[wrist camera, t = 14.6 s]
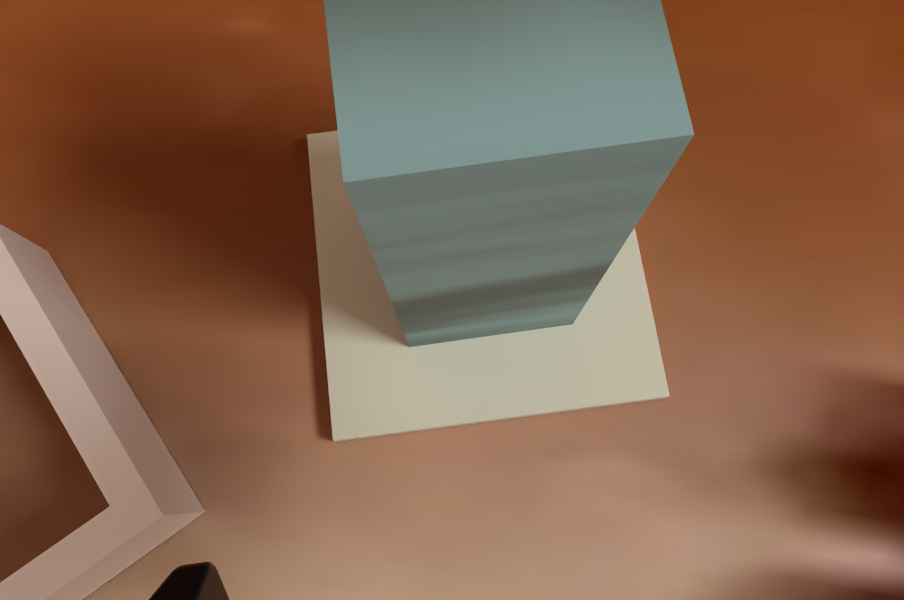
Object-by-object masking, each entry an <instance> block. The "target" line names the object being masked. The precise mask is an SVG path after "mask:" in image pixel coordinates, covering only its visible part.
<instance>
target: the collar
mask: <svg viewBox="0 0 904 600" xmlns="http://www.w3.org/2000/svg"><path fill="white" fill-rule="evenodd" d="M0 315H1V316H2V318H3V320H4V322H5V323H6V325H7V327H8V329H9V330H10V332H11V334H12V336H13V337H14V339H15V341H16V343H17V344H18V346H19V348H20V350H21V351H22V353H23V355H24V357H25V358H26V360H27V362H28V364H29V365H30V367H31V369H32V371H33V372H34V374H35V376H36V378H37V379H38V381H39V383H40V385H41V386H42V388H43V390H44V392H45V393H46V395H47V397H48V399H49V400H50V402H51V404H52V406H53V407H54V409H55V411H56V413H57V414H58V416H59V418H60V420H61V421H62V423H63V425H64V427H65V428H66V430H67V432H68V434H69V435H70V437H71V439H72V441H73V443H74V444H75V446H76V448H77V450H78V451H79V453H80V455H81V457H82V458H83V460H84V462H85V464H86V465H87V467H88V469H89V471H90V472H91V474H92V476H93V478H94V479H95V481H96V483H97V485H98V486H99V488H100V490H101V492H102V493H103V495H104V497H105V499H106V500H107V502H108V504H109V507H108V508H107V509H105V510H104V511H102V512H101V513H99V514H98V515H96V516H95V517H94V518H92V519H91V520H89V521H88V522H86V523H85V524H84V525H82V526H81V527H79V528H78V529H76V530H75V531H73V532H72V533H71V534H69V535H68V536H66V537H65V538H63V539H62V540H61V541H59V542H58V543H56V544H55V545H53V546H52V547H51V548H49V549H48V550H46V551H45V552H43V553H42V554H40V555H39V556H38V557H36V558H35V559H33V560H32V561H30V562H29V563H28V564H26V565H25V566H23V567H22V568H20V569H19V570H18V571H16V572H15V573H13V574H12V575H10V576H9V577H7V578H6V579H5V580H3V581H2V582H0V600H82V599H84V598H85V597H87V596H88V595H89V594H91V593H92V592H94V591H95V590H96V589H98V588H99V587H101V586H102V585H103V584H105V583H106V582H108V581H109V580H110V579H112V578H113V577H115V576H116V575H117V574H119V573H120V572H122V571H123V570H124V569H126V568H127V567H129V566H130V565H131V564H133V563H134V562H136V561H137V560H138V559H140V558H141V557H143V556H144V555H145V554H147V553H148V552H150V551H151V550H152V549H154V548H155V547H157V546H158V545H159V544H161V543H162V542H164V541H165V540H167V539H168V538H169V537H171V536H172V535H174V534H175V533H176V532H178V531H179V530H181V529H182V528H183V527H185V526H186V525H188V524H189V523H190V522H192V521H193V520H195V519H196V518H197V517H199V516H200V515H202V514H203V513H204V512H205V511H204V509H203V507H202V506H201V504H200V502H199V501H198V499H197V497H196V496H195V494H194V492H193V491H192V489H191V487H190V486H189V484H188V482H187V481H186V479H185V478H184V476H183V474H182V473H181V471H180V469H179V468H178V466H177V464H176V463H175V461H174V459H173V458H172V456H171V454H170V453H169V451H168V449H167V448H166V446H165V444H164V443H163V441H162V439H161V438H160V436H159V434H158V433H157V431H156V429H155V428H154V426H153V425H152V423H151V421H150V420H149V418H148V416H147V415H146V413H145V411H144V410H143V408H142V406H141V405H140V403H139V401H138V400H137V398H136V396H135V395H134V393H133V391H132V390H131V388H130V386H129V385H128V383H127V381H126V380H125V378H124V376H123V375H122V373H121V372H120V370H119V368H118V367H117V365H116V363H115V362H114V360H113V358H112V357H111V355H110V353H109V352H108V350H107V348H106V347H105V345H104V343H103V342H102V340H101V338H100V337H99V335H98V333H97V332H96V330H95V328H94V327H93V325H92V323H91V322H90V320H89V319H88V317H87V315H86V314H85V312H84V310H83V309H82V307H81V305H80V304H79V302H78V300H77V299H76V297H75V295H74V294H73V292H72V290H71V289H70V287H69V285H68V284H67V282H66V280H65V279H64V277H63V275H62V274H61V272H60V270H59V269H58V267H57V265H56V264H55V262H54V261H53V259H52V257H51V256H50V254H49V252H48V251H47V250H45V249H43V248H41V247H40V246H38V245H36V244H34V243H33V242H31V241H29V240H27V239H26V238H24V237H22V236H20V235H18V234H17V233H15V232H13V231H11V230H10V229H8V228H6V227H4V226H3V225H1V224H0Z"/></svg>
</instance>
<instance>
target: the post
mask: <svg viewBox="0 0 904 600" xmlns="http://www.w3.org/2000/svg"><path fill="white" fill-rule="evenodd" d="M324 8H325V17H326V27H327V36H328V45H329V54H330V64H331V73H332V82H333V91H334V100H335V110H336V119H337V128H338V137H339V147H340V156H341V165H342V174H343V183H344V185H345V188H346V190H347V193H348V195H349V198H350V200H351V203H352V205H353V208H354V210H355V213H356V215H357V218H358V220H359V223H360V225H361V228H362V230H363V233H364V235H365V238H366V240H367V243H368V245H369V248H370V250H371V253H372V255H373V258H374V260H375V263H376V265H377V268H378V270H379V273H380V275H381V278H382V280H383V283H384V285H385V288H386V290H387V293H388V295H389V298H390V300H391V303H392V305H393V308H394V310H395V313H396V315H397V318H398V320H399V323H400V325H401V328H402V330H403V332H404V335H405V337H406V340H407V342H408V345H409V347H415V346H422V345H429V344H436V343H443V342H450V341H457V340H464V339H471V338H478V337H486V336H493V335H500V334H507V333H514V332H521V331H528V330H535V329H542V328H549V327H557V326H564V325H571V324H573V323H574V321H575V320H576V318H577V317H578V315H579V313H580V312H581V310H582V309H583V307H584V306H585V304H586V303H587V301H588V299H589V298H590V296H591V295H592V293H593V292H594V290H595V289H596V287H597V285H598V284H599V282H600V281H601V279H602V278H603V276H604V274H605V273H606V271H607V270H608V268H609V267H610V265H611V264H612V262H613V260H614V259H615V257H616V256H617V254H618V253H619V251H620V250H621V248H622V246H623V245H624V243H625V242H626V240H627V239H628V237H629V235H630V234H631V232H632V231H633V229H634V228H635V226H636V225H637V223H638V221H639V220H640V218H641V217H642V215H643V214H644V212H645V211H646V209H647V207H648V206H649V204H650V203H651V201H652V200H653V198H654V197H655V195H656V193H657V192H658V190H659V189H660V187H661V186H662V184H663V182H664V181H665V179H666V178H667V176H668V175H669V173H670V172H671V170H672V168H673V167H674V165H675V164H676V162H677V161H678V159H679V158H680V156H681V154H682V153H683V151H684V150H685V148H686V147H687V145H688V143H689V142H690V140H691V139H692V137H693V136H694V131H693V127H692V123H691V119H690V115H689V111H688V107H687V103H686V99H685V96H684V92H683V88H682V84H681V80H680V76H679V72H678V68H677V64H676V60H675V56H674V52H673V48H672V44H671V40H670V36H669V32H668V28H667V24H666V20H665V16H664V12H663V8H662V4H661V0H324Z"/></svg>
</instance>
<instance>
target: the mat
mask: <svg viewBox="0 0 904 600" xmlns="http://www.w3.org/2000/svg"><path fill="white" fill-rule="evenodd" d="M307 141H308V153H309V165H310V177H311V189H312V200H313V212H314V224H315V236H316V248H317V259H318V271H319V283H320V295H321V307H322V318H323V330H324V342H325V354H326V366H327V378H328V389H329V401H330V413H331V425H332V437H333V441H334V442H340V441H348V440H355V439H363V438H371V437H378V436H386V435H393V434H401V433H408V432H416V431H423V430H431V429H438V428H446V427H454V426H461V425H469V424H476V423H484V422H491V421H499V420H506V419H514V418H521V417H529V416H536V415H544V414H552V413H559V412H567V411H574V410H582V409H589V408H597V407H604V406H612V405H619V404H627V403H635V402H642V401H650V400H657V399H665V398H667V397H669V396H670V395H669V391H668V386H667V381H666V376H665V371H664V366H663V362H662V357H661V352H660V347H659V342H658V338H657V333H656V328H655V323H654V318H653V314H652V309H651V304H650V299H649V294H648V290H647V285H646V280H645V275H644V270H643V266H642V261H641V256H640V251H639V246H638V241H637V237H636V232H635V228H634V229H633V231H632V232H631V234H630V235H629V237H628V239H627V240H626V242H625V243H624V245H623V246H622V248H621V250H620V251H619V253H618V254H617V256H616V257H615V259H614V260H613V262H612V264H611V265H610V267H609V268H608V270H607V271H606V273H605V274H604V276H603V278H602V279H601V281H600V282H599V284H598V285H597V287H596V289H595V290H594V292H593V293H592V295H591V296H590V298H589V299H588V301H587V303H586V304H585V306H584V307H583V309H582V310H581V312H580V313H579V315H578V317H577V318H576V320H575V321H574V323H573V324H571V325H564V326H557V327H549V328H542V329H535V330H528V331H521V332H514V333H507V334H500V335H493V336H486V337H478V338H471V339H464V340H457V341H450V342H443V343H436V344H429V345H422V346H415V347H409V345H408V342H407V340H406V337H405V335H404V332H403V330H402V328H401V325H400V323H399V320H398V318H397V315H396V313H395V310H394V308H393V305H392V303H391V300H390V298H389V295H388V293H387V290H386V288H385V285H384V283H383V280H382V278H381V275H380V273H379V270H378V268H377V265H376V263H375V260H374V258H373V255H372V253H371V250H370V248H369V245H368V243H367V240H366V238H365V235H364V233H363V230H362V228H361V225H360V223H359V220H358V218H357V215H356V213H355V210H354V208H353V205H352V203H351V200H350V198H349V195H348V193H347V190H346V188H345V185H344V183H343V174H342V165H341V156H340V147H339V137H338V131H330V132H322V133H315V134H307Z"/></svg>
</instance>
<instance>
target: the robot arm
mask: <svg viewBox="0 0 904 600" xmlns="http://www.w3.org/2000/svg"><path fill="white" fill-rule="evenodd" d="M149 600H229V598H228V595H227V593H226V590H225V588H224V586H223V583H222V581H221V578H220V576H219V574H218V571H217V569H216V567H215V566H214V565H213V564H212V563H210V562H202V563H195V564H188V565H182V566H179V567H177V568H176V569H175V570H173V571H172V572H171V574H170V575H169V576H168V577H167V578H166V580H165V581H164V582H163V583H162V584H161V586H160V587H159V588H158V589H157V590H156V592H155V593H154V594H153V595H152V596H151V598H150V599H149Z"/></svg>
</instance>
